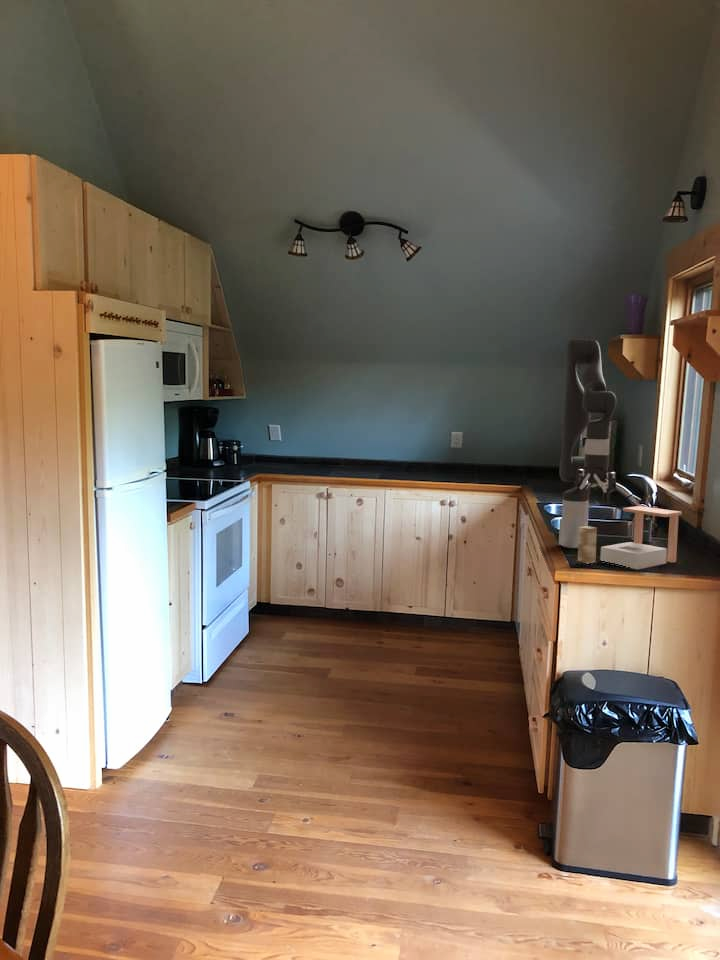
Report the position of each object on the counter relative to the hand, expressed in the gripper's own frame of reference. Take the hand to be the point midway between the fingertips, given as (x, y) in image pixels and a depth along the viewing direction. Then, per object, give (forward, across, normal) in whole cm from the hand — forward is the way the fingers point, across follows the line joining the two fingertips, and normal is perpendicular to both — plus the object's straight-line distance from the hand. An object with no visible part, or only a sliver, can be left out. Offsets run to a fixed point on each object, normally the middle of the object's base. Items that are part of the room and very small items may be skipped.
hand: (594, 502), depth 241 cm
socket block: (+20, +7, +13) cm, 25 cm away
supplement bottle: (+21, -15, +48) cm, 55 cm away
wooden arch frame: (+20, +6, +22) cm, 31 cm away
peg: (+20, -1, -1) cm, 20 cm away
